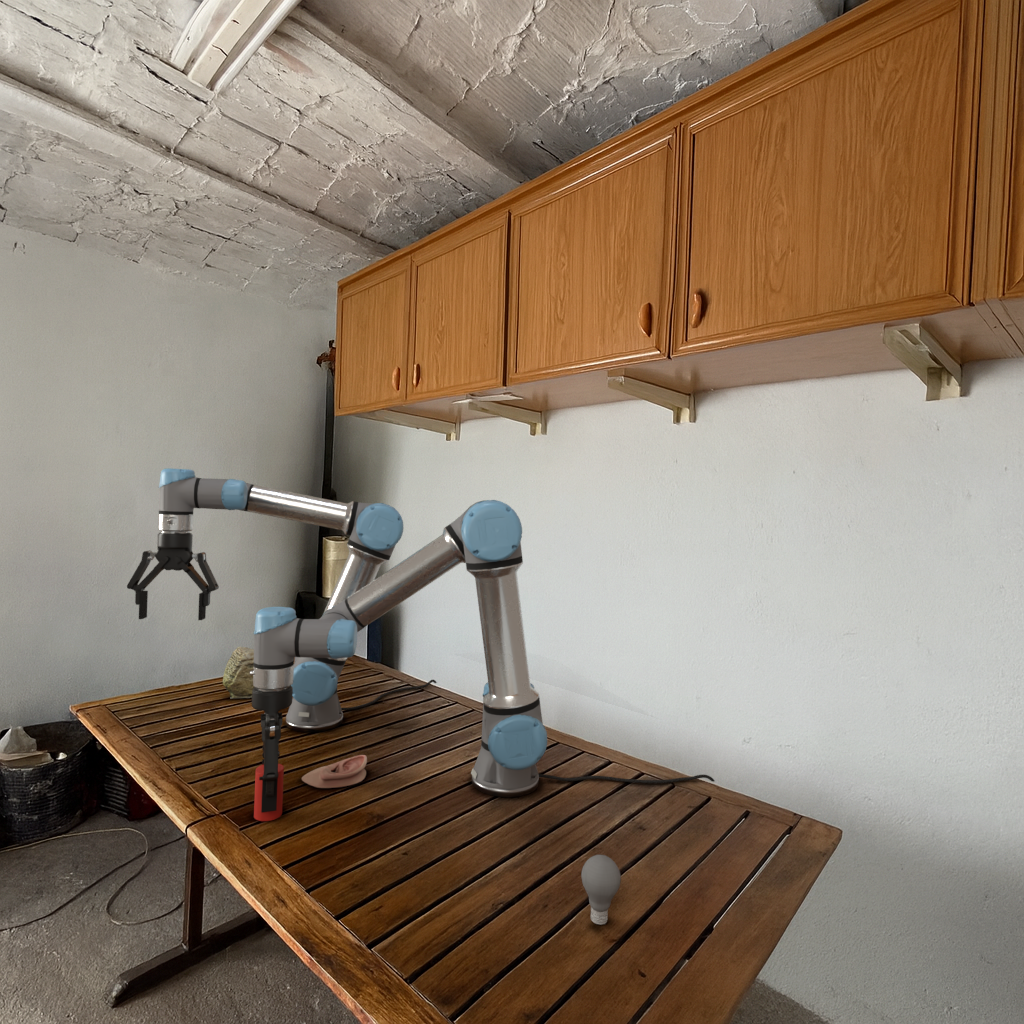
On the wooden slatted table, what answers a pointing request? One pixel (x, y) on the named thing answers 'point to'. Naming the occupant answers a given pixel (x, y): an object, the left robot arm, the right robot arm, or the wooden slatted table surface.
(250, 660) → the fossil
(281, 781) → the cylinder
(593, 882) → the light bulb
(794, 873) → the wooden slatted table surface
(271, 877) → the wooden slatted table surface
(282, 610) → the right robot arm
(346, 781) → the anatomical model
